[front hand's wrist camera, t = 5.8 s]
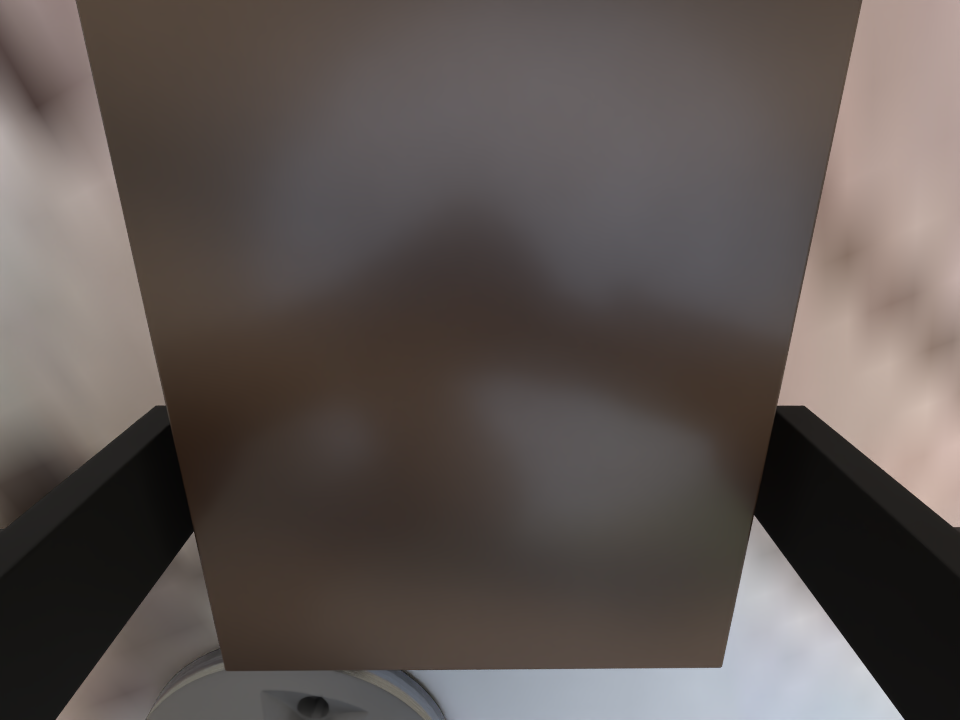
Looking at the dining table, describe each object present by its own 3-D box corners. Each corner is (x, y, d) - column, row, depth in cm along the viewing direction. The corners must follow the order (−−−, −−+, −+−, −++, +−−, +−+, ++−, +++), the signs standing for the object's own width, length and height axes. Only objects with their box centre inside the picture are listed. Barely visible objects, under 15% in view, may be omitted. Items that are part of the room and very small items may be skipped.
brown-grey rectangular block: (271, -190, 15) (-111, -819, 5) (672, -188, 15) (1034, -802, 5) (336, 436, 22) (223, 672, 12) (612, 435, 22) (722, 669, 12)
